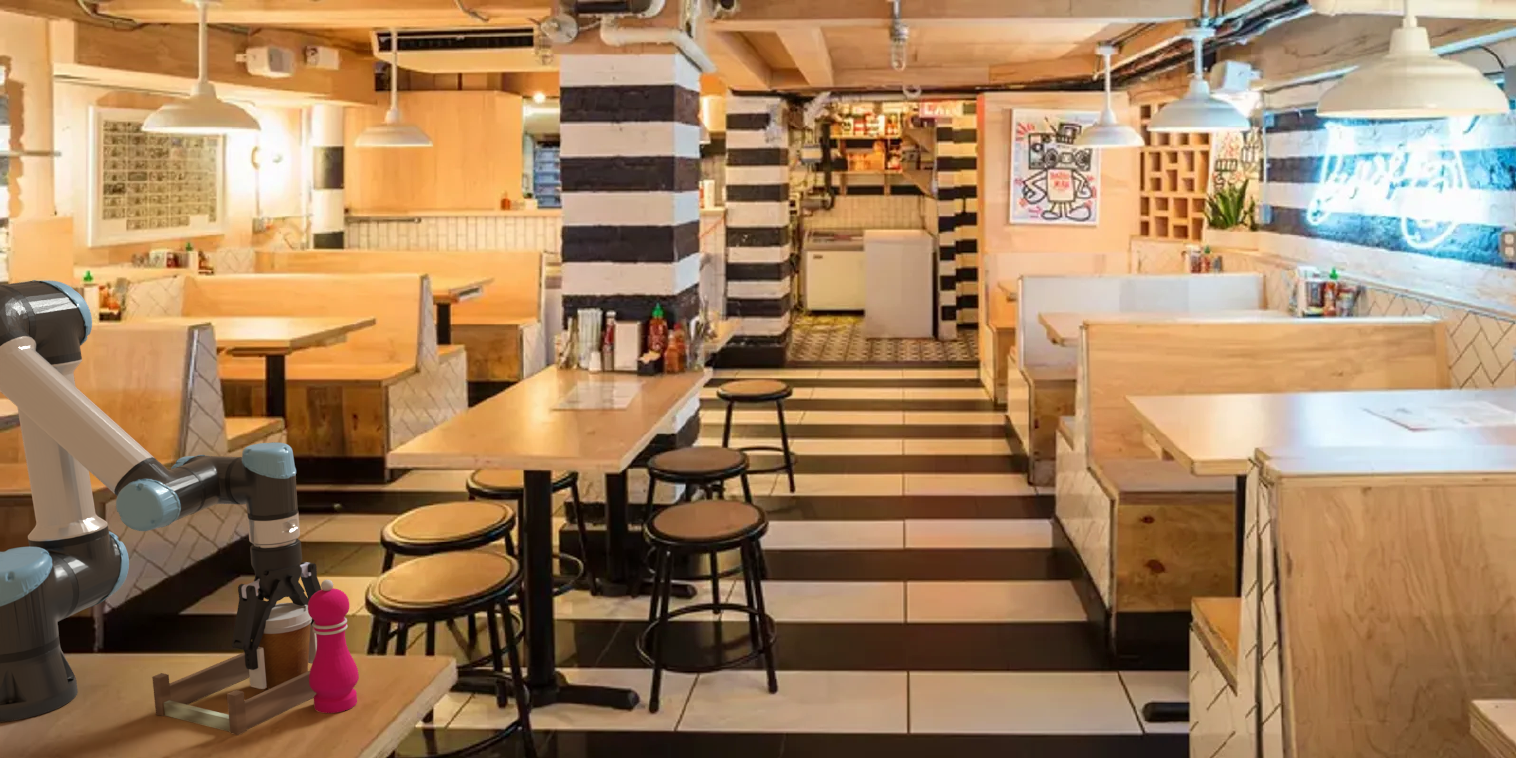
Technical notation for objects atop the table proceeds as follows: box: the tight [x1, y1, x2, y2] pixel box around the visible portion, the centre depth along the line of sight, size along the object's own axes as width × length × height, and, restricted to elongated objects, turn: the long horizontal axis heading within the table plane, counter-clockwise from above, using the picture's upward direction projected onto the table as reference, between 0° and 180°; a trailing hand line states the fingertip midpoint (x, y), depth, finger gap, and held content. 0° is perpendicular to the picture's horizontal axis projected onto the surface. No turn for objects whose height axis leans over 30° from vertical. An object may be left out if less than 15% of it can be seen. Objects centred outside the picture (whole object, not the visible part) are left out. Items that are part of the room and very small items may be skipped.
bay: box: [151, 652, 317, 736], centre depth 196 cm, size 18×20×6 cm
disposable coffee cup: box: [259, 602, 312, 690], centre depth 202 cm, size 10×10×12 cm
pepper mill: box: [308, 579, 360, 714], centre depth 192 cm, size 7×7×20 cm
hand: (286, 674), depth 202 cm, fingers open, 10 cm apart
